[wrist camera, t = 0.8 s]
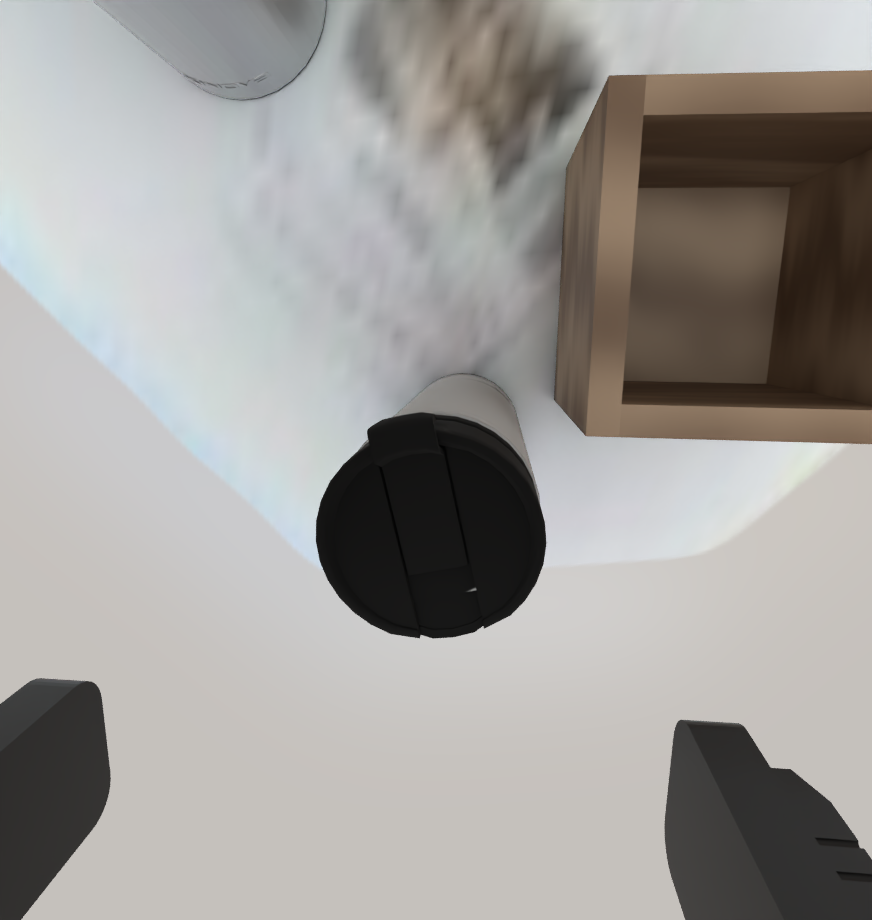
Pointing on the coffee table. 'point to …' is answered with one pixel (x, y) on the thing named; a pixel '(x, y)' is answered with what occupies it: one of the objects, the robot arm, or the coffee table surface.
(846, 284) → the wooden box
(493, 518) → the travel mug
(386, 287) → the coffee table surface
